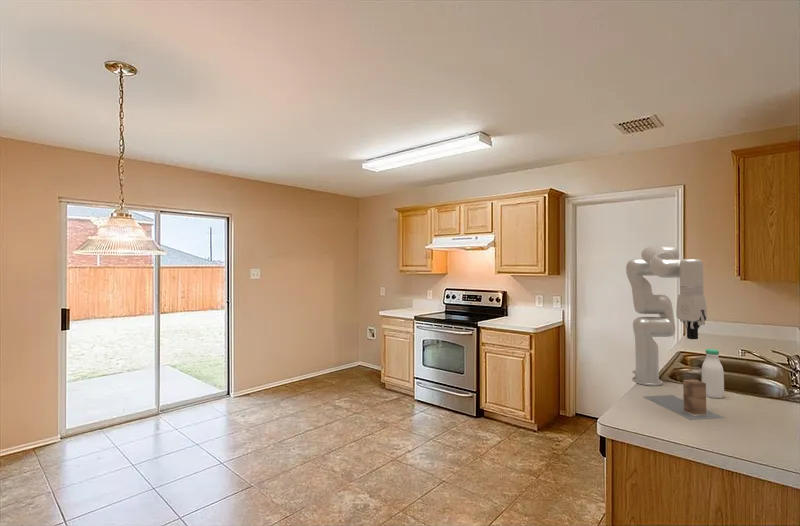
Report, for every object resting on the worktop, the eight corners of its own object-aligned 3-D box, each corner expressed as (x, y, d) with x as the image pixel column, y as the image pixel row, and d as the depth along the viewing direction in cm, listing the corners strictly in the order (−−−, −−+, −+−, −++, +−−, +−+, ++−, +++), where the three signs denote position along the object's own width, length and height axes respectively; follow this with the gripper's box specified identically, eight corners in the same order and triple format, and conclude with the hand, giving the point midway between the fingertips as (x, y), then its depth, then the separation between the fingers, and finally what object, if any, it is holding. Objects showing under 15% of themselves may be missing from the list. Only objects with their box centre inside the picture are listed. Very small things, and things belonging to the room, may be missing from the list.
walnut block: (683, 410, 159) (683, 380, 159) (695, 410, 159) (695, 379, 159) (694, 415, 154) (693, 383, 154) (706, 414, 154) (705, 383, 154)
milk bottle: (728, 398, 173) (728, 351, 173) (710, 398, 173) (709, 351, 173) (715, 392, 180) (714, 347, 180) (697, 393, 180) (696, 347, 180)
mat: (642, 397, 176) (642, 396, 176) (672, 396, 177) (672, 395, 177) (690, 420, 150) (690, 419, 150) (725, 419, 151) (725, 417, 151)
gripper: (668, 290, 164) (668, 335, 164) (698, 292, 149) (699, 342, 149) (685, 290, 165) (686, 335, 165) (717, 292, 150) (718, 342, 150)
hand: (692, 338), depth 157 cm, fingers closed
